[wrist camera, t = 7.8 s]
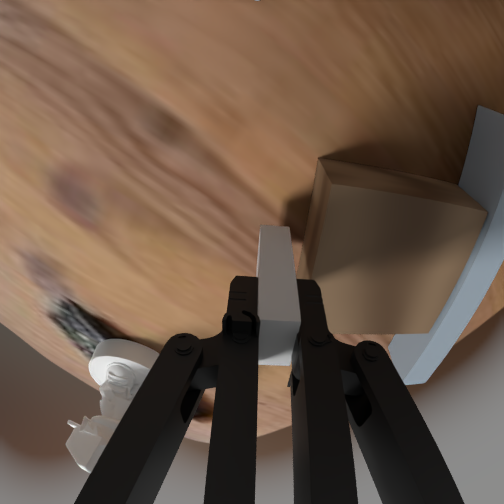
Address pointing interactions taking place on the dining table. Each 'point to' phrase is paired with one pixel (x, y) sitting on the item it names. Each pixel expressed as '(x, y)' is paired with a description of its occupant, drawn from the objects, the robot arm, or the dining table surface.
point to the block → (386, 246)
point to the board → (479, 263)
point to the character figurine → (110, 395)
